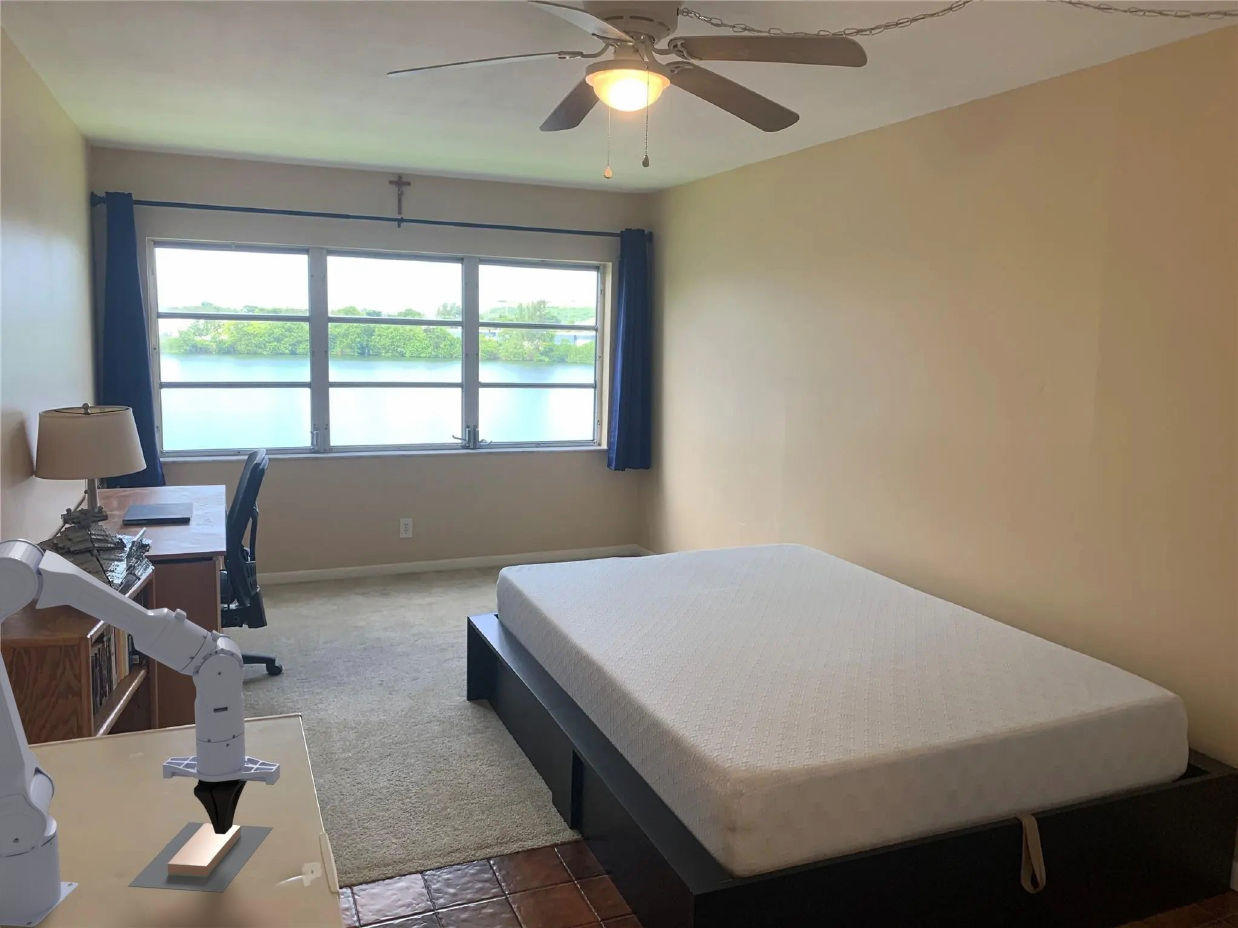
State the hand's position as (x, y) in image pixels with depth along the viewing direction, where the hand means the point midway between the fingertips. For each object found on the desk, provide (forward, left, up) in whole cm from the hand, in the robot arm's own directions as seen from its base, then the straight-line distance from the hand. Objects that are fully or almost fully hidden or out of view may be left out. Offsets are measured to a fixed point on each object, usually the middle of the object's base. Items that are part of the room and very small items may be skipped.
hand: (223, 829), depth 112 cm
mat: (-3, 0, -4) cm, 5 cm away
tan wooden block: (0, 0, -3) cm, 3 cm away
